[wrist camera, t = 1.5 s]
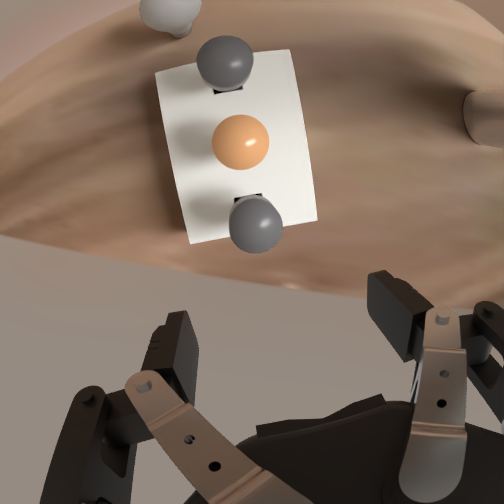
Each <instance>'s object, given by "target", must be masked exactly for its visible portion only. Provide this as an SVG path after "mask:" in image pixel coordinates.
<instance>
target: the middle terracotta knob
mask: <svg viewBox="0 0 504 504" xmlns="http://www.w3.org/2000/svg"><path fill="white" fill-rule="evenodd" d="M212 149H213V152H214V154H215V156H216V158H217V159H218V160H219V161H220V162H221V163H222V164H223V165H225V166H226V167H228V168H231V169H234V170H246V169H250V168H253V167H254V166H256V165H258V164H259V163H260V162H261V161H262V160H263V159H264V158H265V156H266V154H267V152H268V149H269V136H268V132H267V130H266V128H265V127H264V125H263V124H262V123H261V122H260V121H258V120H257V119H256V118H254V117H251V116H248V115H233V116H230V117H228V118H226V119H224V120H223V121H222V122H221V123H220V124H219V125H218V126H217V127H216V129H215V131H214V133H213V136H212Z"/></svg>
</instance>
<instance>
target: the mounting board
mask: <svg viewBox="0 0 504 504" xmlns="http://www.w3.org/2000/svg"><path fill="white" fill-rule="evenodd" d="M253 57H254V62H253V66H252V70H251V73H250V76H249V78H248V80H247V81H246V82H245V83H244V84H243V85H242V86H241V87H240V90H237V91H231V92H225V93H220V94H214V89H212V88H210V87H209V86H208V85H207V84H206V83H205V82H204V81H203V79H202V77H201V74H200V72H199V70H198V67H197V62H196V63H191V64H187V65H183V66H179V67H175V68H171V69H167V70H163V71H160V72H156V73H155V77H156V83H157V89H158V95H159V101H160V107H161V112H162V118H163V123H164V129H165V134H166V139H167V144H168V149H169V154H170V159H171V164H172V168H173V173H174V178H175V182H176V187H177V191H178V195H179V200H180V204H181V208H182V213H183V217H184V221H185V225H186V229H187V233H188V237H189V241H190V244H194V243H199V242H204V241H209V240H214V239H220V238H225V237H230V233H229V214H230V211H231V208H232V207H233V205H234V204H235V200H234V198H236V197H242V196H247V195H253V194H258V193H259V196H262V197H264V198H266V199H268V200H269V201H270V202H271V203H272V204H273V206H274V207H275V208H276V210H277V211H278V213H279V214H280V216H281V218H282V222H283V226H289V225H294V224H300V223H305V222H311V221H316V220H317V212H316V203H315V195H314V187H313V179H312V172H311V164H310V157H309V151H308V144H307V138H306V132H305V126H304V120H303V114H302V108H301V103H300V97H299V92H298V87H297V82H296V77H295V72H294V67H293V63H292V58H291V53H290V49H287V50H274V51H264V52H255V53H253ZM233 115H248V116H251V117H254V118H256V119H257V120H258V121H260V122H261V123H262V124H263V125H264V127H265V128H266V130H267V132H268V136H269V149H268V152H267V154H266V156H265V158H264V159H263V160H262V161H261V162H260V163H259V164H258V165H256V166H254V167H253V168H250V169H246V170H234V169H231V168H228V167H226V166H225V165H223V164H222V163H221V162H220V161H219V160H218V159H217V158H216V156H215V154H214V152H213V149H212V136H213V133H214V131H215V129H216V127H217V126H218V125H219V124H220V123H221V122H222V121H223V120H224V119H226V118H228V117H230V116H233Z"/></svg>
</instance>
